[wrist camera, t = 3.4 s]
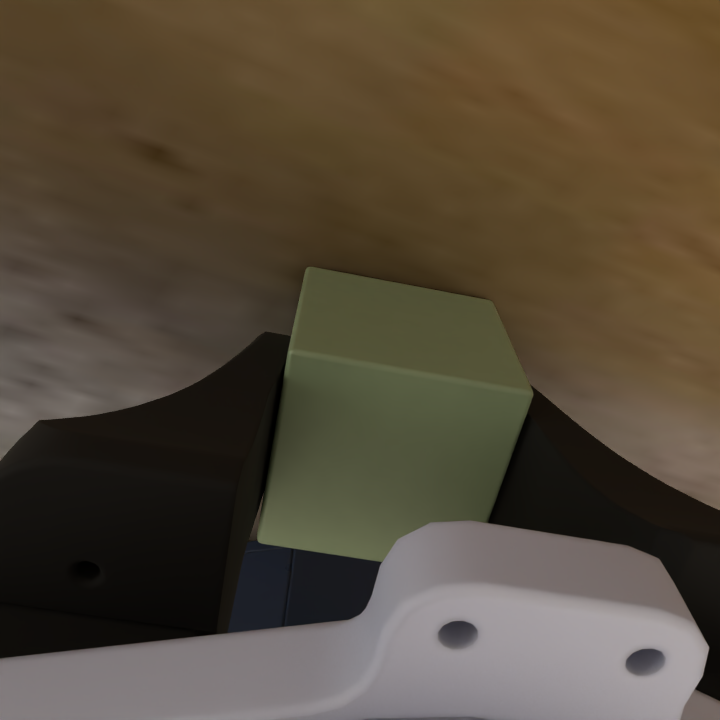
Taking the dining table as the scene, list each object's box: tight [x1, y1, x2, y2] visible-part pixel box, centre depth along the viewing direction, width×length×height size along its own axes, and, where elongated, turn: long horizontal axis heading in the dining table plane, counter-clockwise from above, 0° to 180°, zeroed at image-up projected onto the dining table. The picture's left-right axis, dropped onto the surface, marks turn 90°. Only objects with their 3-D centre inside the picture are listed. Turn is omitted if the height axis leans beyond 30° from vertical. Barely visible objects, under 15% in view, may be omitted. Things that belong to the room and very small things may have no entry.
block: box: [257, 267, 533, 562], centre depth 14 cm, size 4×4×4 cm
